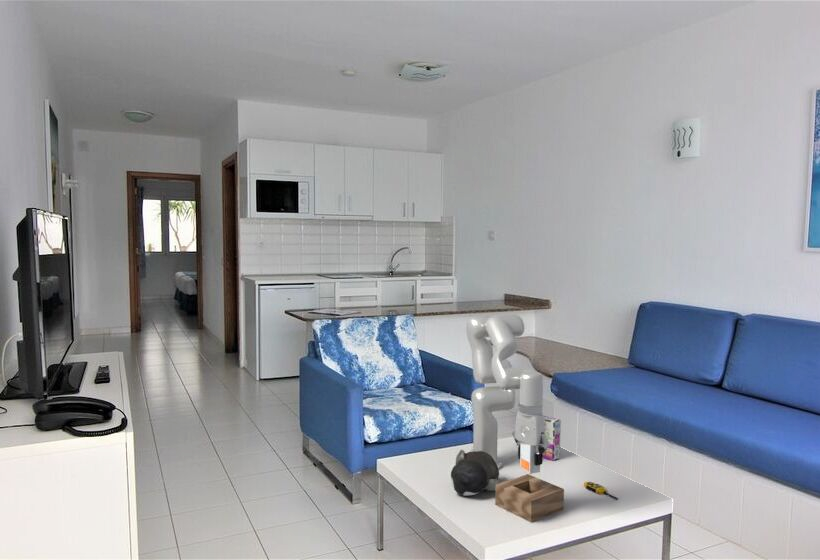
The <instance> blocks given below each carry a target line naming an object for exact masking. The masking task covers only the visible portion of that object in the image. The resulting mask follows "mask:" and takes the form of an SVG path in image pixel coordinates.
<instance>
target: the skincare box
mask: <svg viewBox="0 0 820 560" xmlns="http://www.w3.org/2000/svg"><path fill="white" fill-rule="evenodd" d="M538 447H539V449H540V445H539V446H538ZM535 454H536V450H535V447H534V446H531V445H529V444H525V443H523V442H521V444H520V459H519V462H520V463H519V468H520V469H522V470H523V471H525V472H526V473H527V474H529V475H533V474H537V473H540V472H541V465H538V466H536V465H535Z"/></svg>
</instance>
